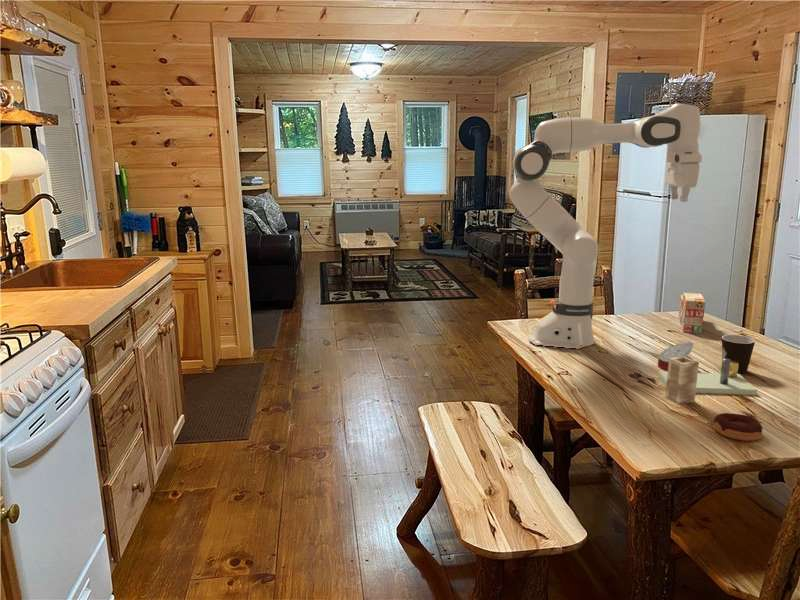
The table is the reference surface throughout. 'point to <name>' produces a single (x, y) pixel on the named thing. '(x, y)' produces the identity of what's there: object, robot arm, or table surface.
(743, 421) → the donut
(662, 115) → the robot arm
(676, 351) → the canned food
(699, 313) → the stack of blocks
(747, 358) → the coffee mug
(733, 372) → the brass peg
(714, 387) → the peg board
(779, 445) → the table surface
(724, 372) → the steel peg
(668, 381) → the sleeve
